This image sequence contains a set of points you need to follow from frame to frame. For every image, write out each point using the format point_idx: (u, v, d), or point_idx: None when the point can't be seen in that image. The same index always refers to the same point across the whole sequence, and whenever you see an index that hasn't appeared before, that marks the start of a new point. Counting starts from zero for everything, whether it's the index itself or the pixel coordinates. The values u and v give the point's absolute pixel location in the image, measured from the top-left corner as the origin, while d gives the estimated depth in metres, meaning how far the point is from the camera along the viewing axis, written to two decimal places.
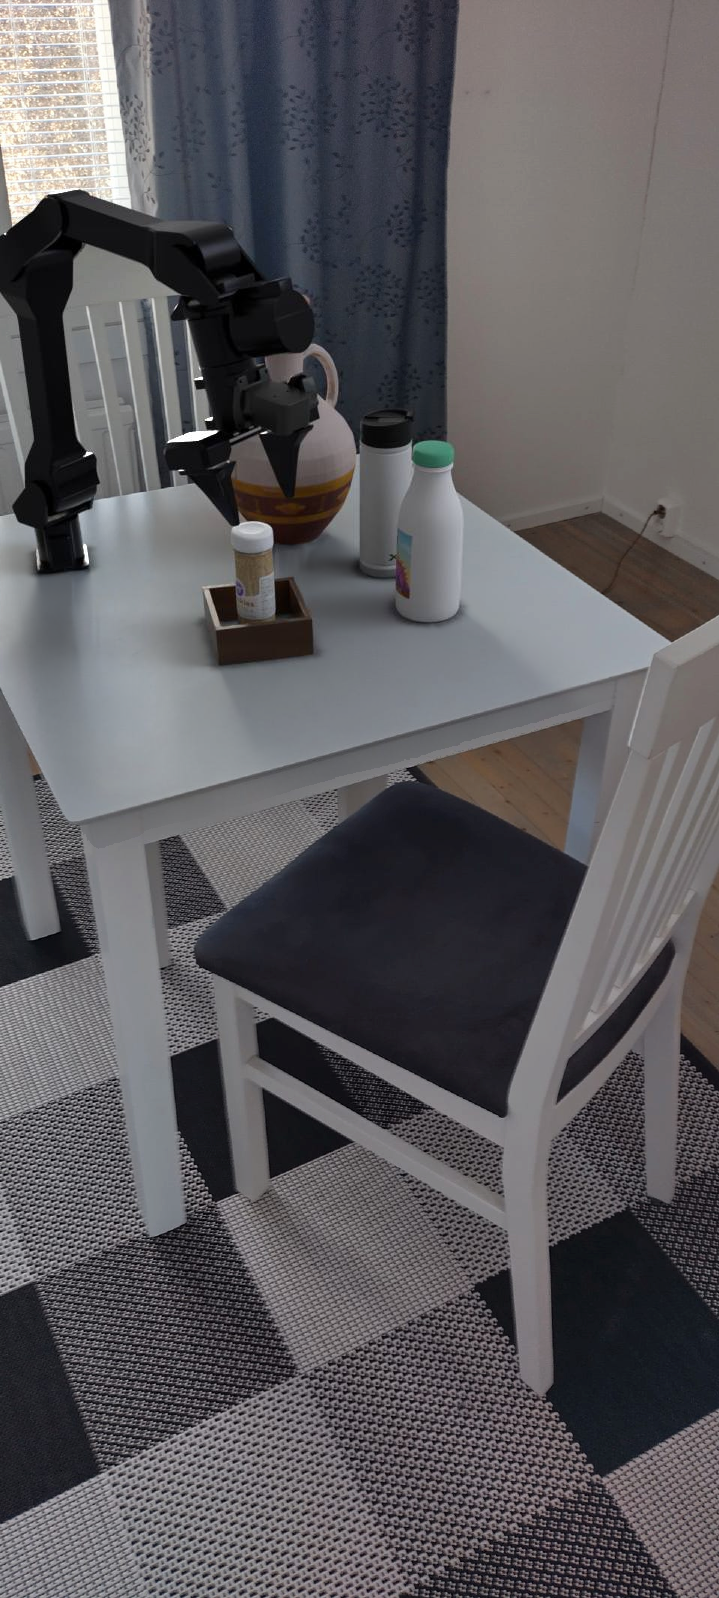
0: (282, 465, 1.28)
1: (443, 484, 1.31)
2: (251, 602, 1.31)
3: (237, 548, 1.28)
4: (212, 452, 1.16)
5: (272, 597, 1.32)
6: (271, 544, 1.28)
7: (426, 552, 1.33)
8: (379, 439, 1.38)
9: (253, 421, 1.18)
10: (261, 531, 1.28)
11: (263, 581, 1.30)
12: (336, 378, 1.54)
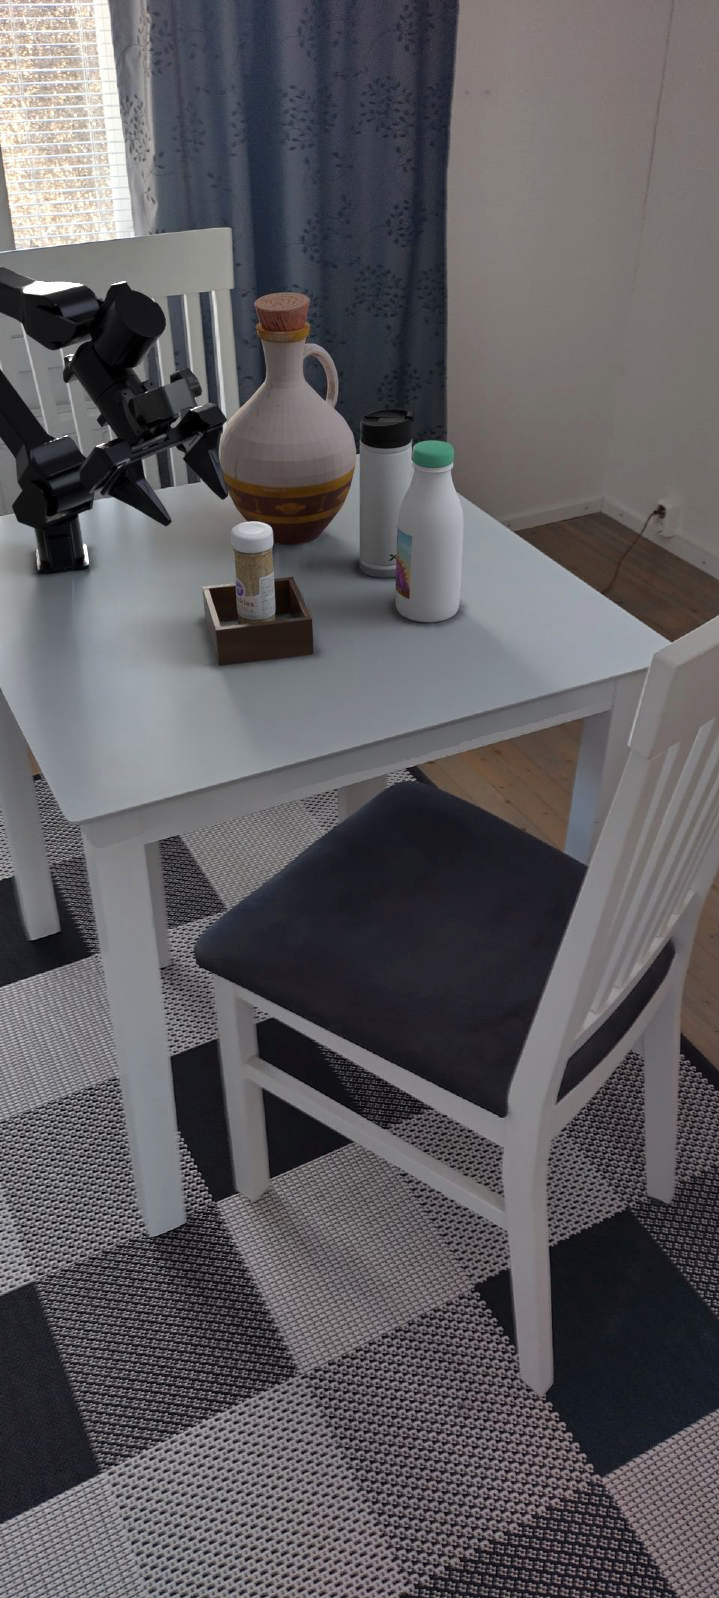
0: (208, 471, 1.35)
1: (443, 484, 1.31)
2: (251, 602, 1.31)
3: (237, 548, 1.28)
4: (110, 451, 1.24)
5: (272, 597, 1.32)
6: (271, 544, 1.28)
7: (426, 552, 1.33)
8: (379, 439, 1.38)
9: (146, 420, 1.27)
10: (261, 531, 1.28)
11: (263, 581, 1.30)
12: (336, 378, 1.54)
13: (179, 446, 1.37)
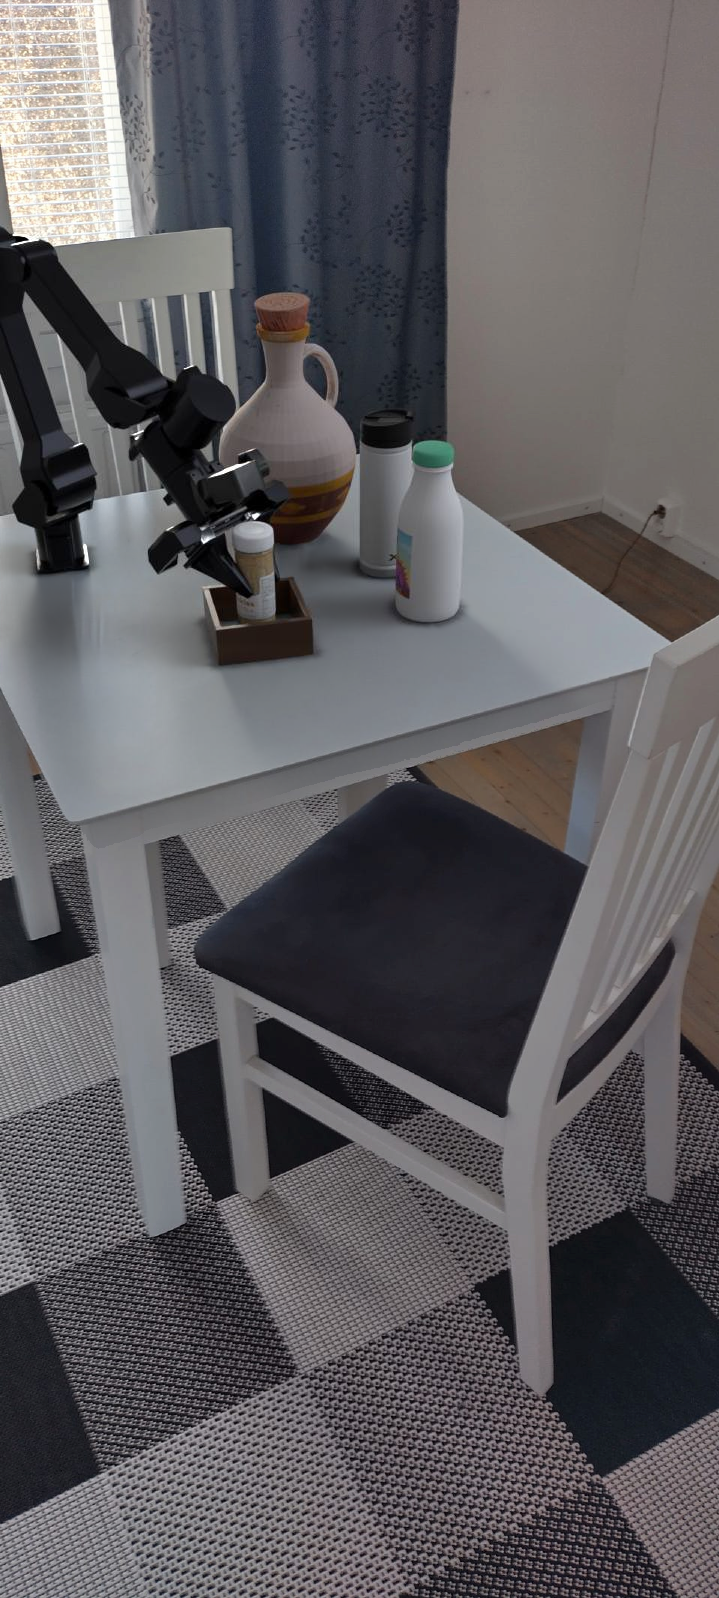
0: None
1: (443, 484, 1.31)
2: (252, 601, 1.31)
3: (238, 548, 1.28)
4: (180, 535, 1.23)
5: (272, 597, 1.32)
6: (272, 544, 1.28)
7: (426, 552, 1.33)
8: (379, 439, 1.38)
9: (215, 502, 1.26)
10: (261, 531, 1.28)
11: (264, 581, 1.30)
12: (336, 378, 1.54)
13: None
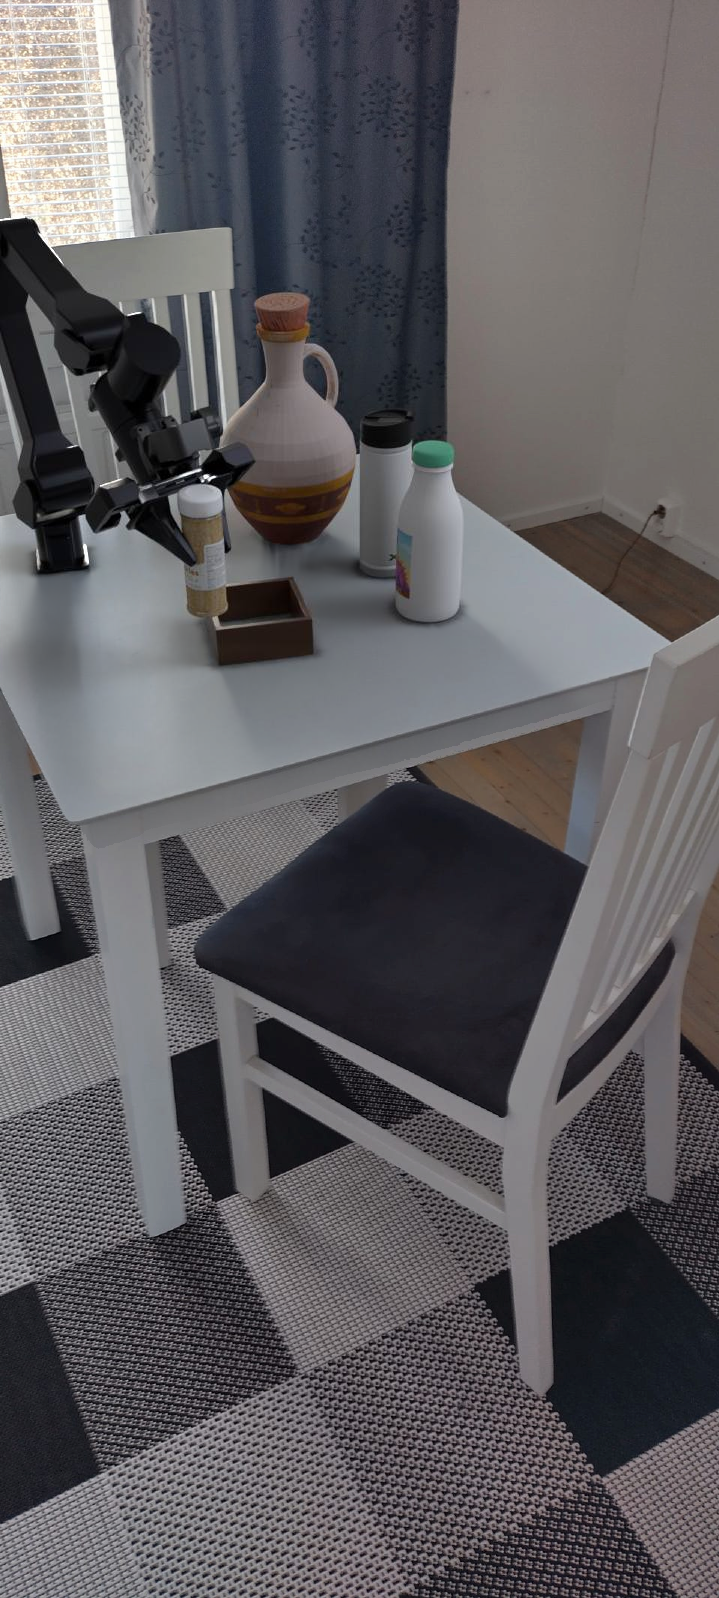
0: None
1: (443, 484, 1.31)
2: (196, 570, 1.22)
3: (181, 512, 1.19)
4: (114, 492, 1.15)
5: (220, 567, 1.23)
6: (218, 510, 1.19)
7: (426, 552, 1.33)
8: (379, 439, 1.38)
9: (159, 460, 1.18)
10: (207, 495, 1.19)
11: (209, 549, 1.21)
12: (336, 378, 1.54)
13: None
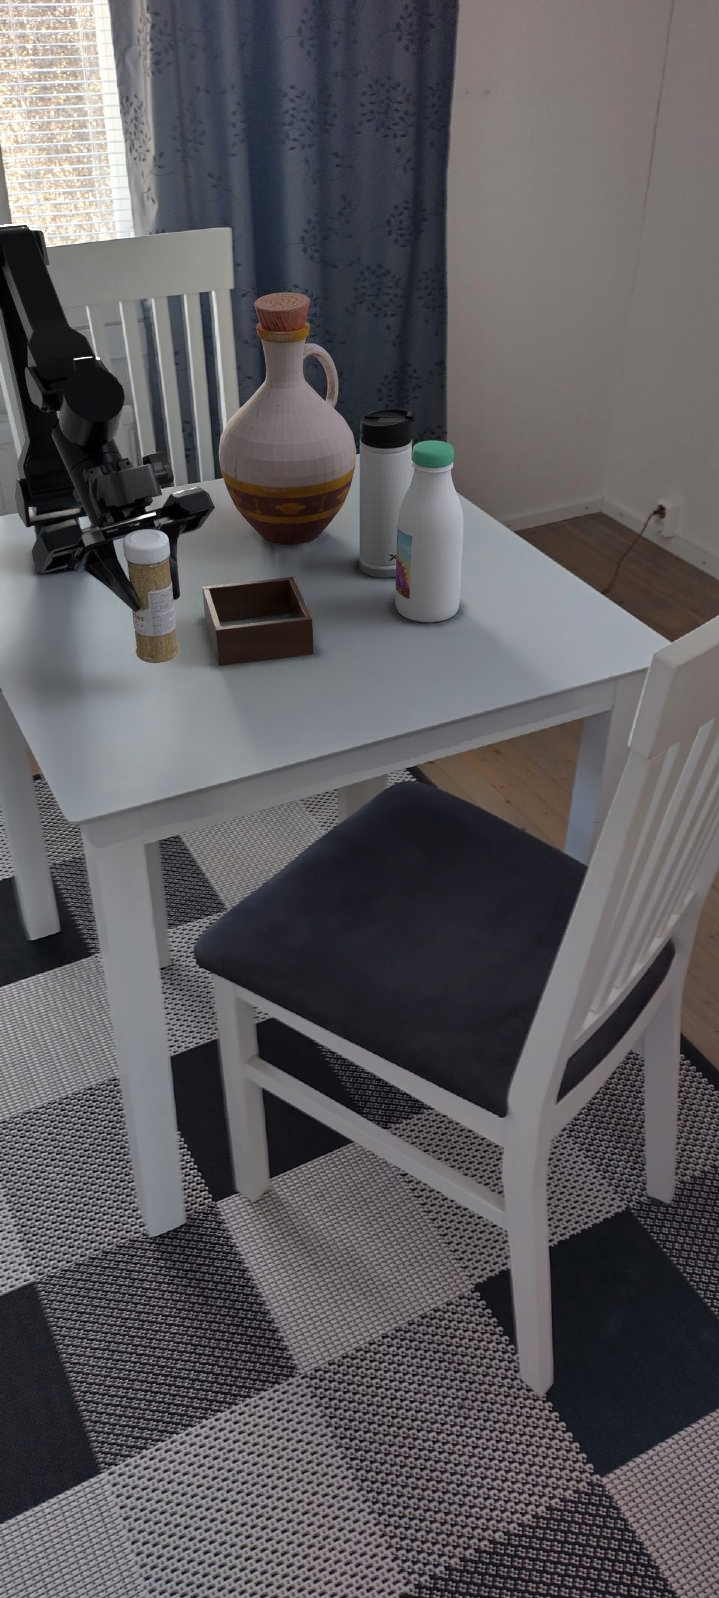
0: None
1: (443, 484, 1.31)
2: (141, 616, 1.21)
3: (125, 557, 1.18)
4: (54, 535, 1.14)
5: (166, 614, 1.21)
6: (162, 557, 1.17)
7: (426, 552, 1.33)
8: (379, 439, 1.38)
9: (105, 504, 1.16)
10: (152, 541, 1.17)
11: (153, 596, 1.19)
12: (336, 378, 1.54)
13: None
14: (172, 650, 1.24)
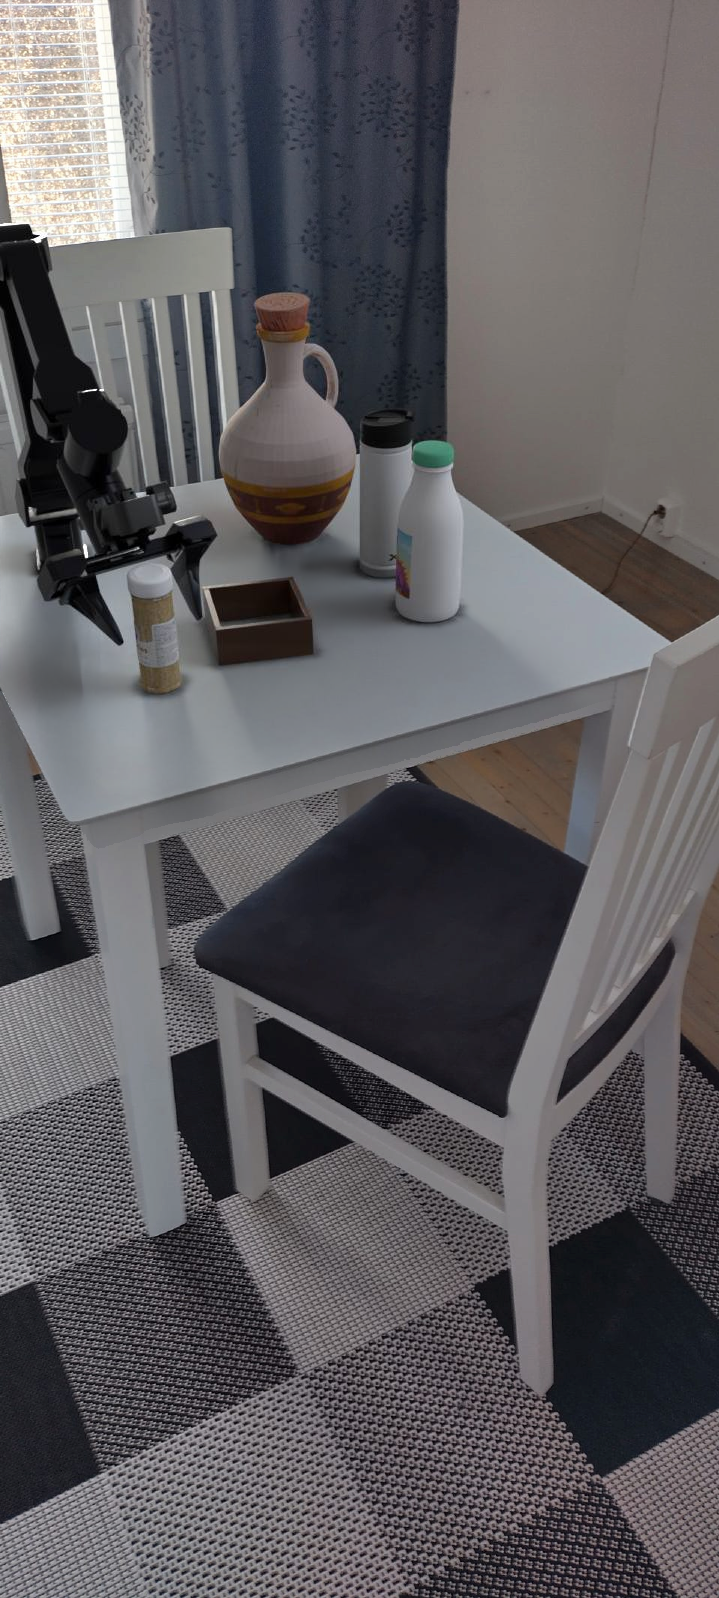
0: (186, 588, 1.25)
1: (443, 484, 1.31)
2: (145, 648, 1.23)
3: (129, 591, 1.20)
4: (60, 565, 1.16)
5: (170, 646, 1.23)
6: (166, 591, 1.20)
7: (426, 552, 1.33)
8: (379, 439, 1.38)
9: (109, 534, 1.18)
10: (155, 576, 1.19)
11: (156, 629, 1.21)
12: (336, 378, 1.54)
13: (168, 556, 1.28)
14: (175, 681, 1.26)
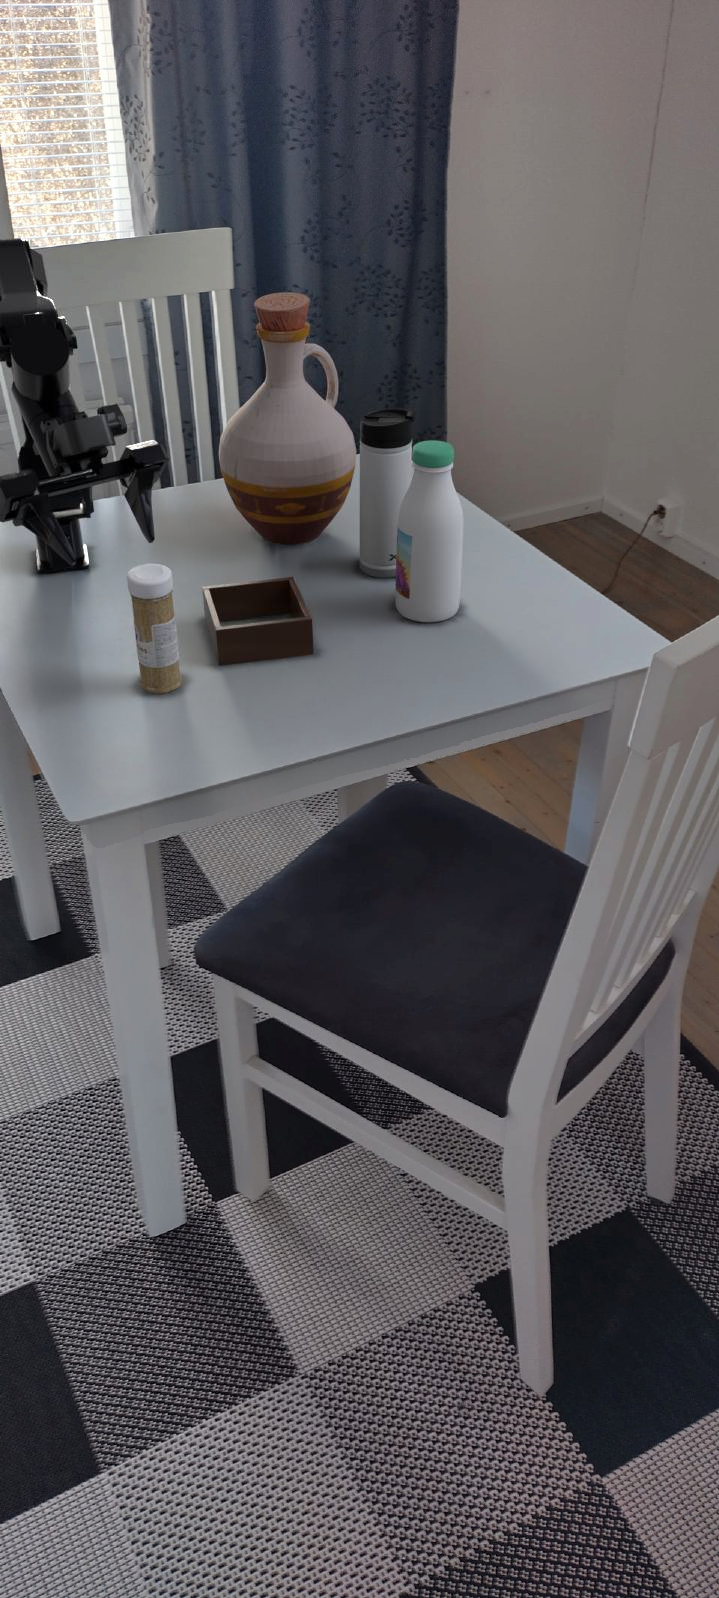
0: (139, 512, 1.28)
1: (443, 484, 1.31)
2: (145, 648, 1.23)
3: (129, 591, 1.20)
4: (12, 483, 1.19)
5: (170, 646, 1.23)
6: (166, 592, 1.19)
7: (426, 552, 1.33)
8: (379, 439, 1.38)
9: (61, 454, 1.21)
10: (155, 576, 1.19)
11: (156, 629, 1.21)
12: (336, 378, 1.54)
13: (122, 482, 1.30)
14: (175, 681, 1.26)
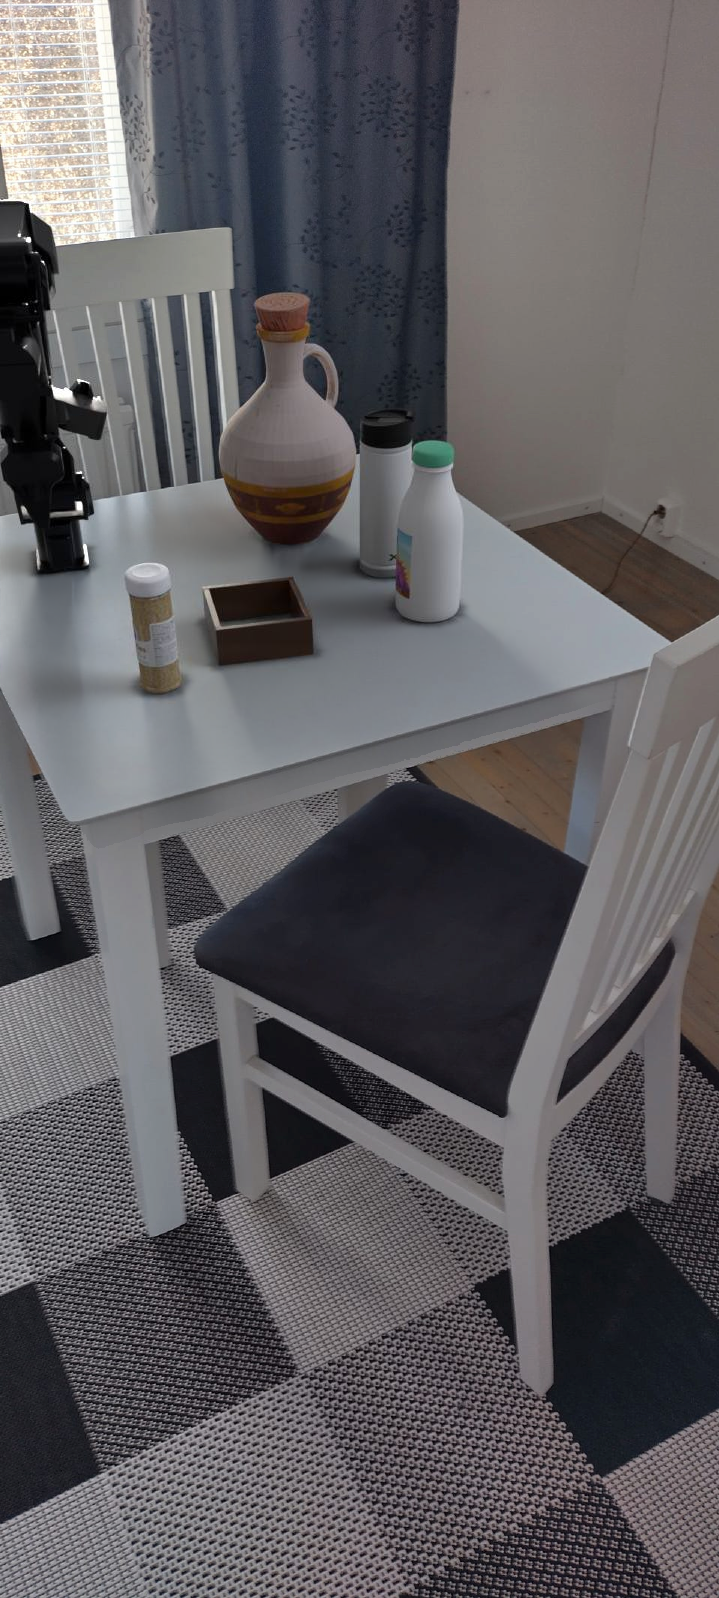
0: None
1: (443, 484, 1.31)
2: (143, 647, 1.23)
3: (127, 590, 1.20)
4: (62, 461, 1.22)
5: (168, 645, 1.23)
6: (163, 590, 1.20)
7: (426, 552, 1.33)
8: (379, 439, 1.38)
9: (66, 428, 1.26)
10: (152, 575, 1.19)
11: (154, 628, 1.21)
12: (336, 378, 1.54)
13: None
14: (175, 680, 1.26)
